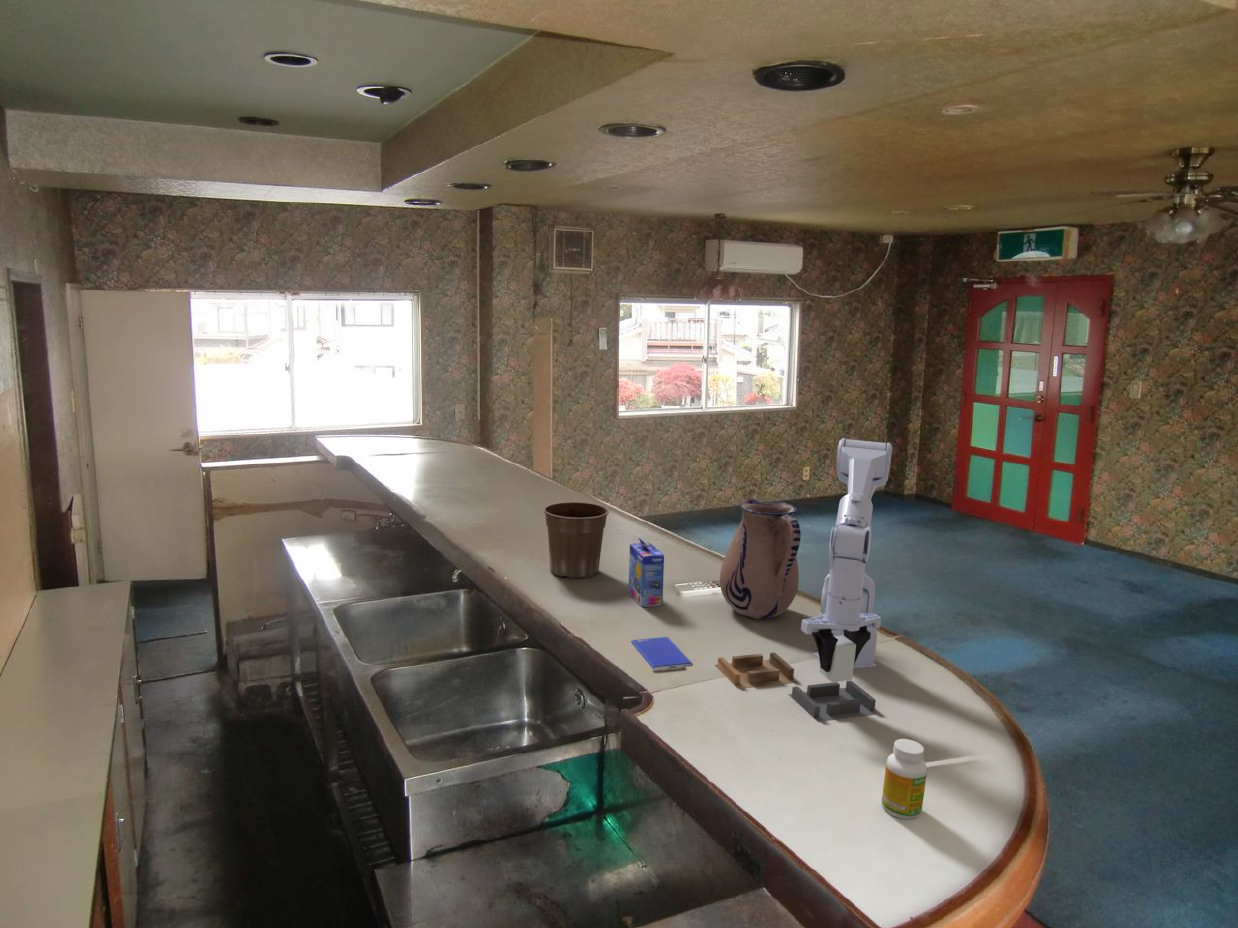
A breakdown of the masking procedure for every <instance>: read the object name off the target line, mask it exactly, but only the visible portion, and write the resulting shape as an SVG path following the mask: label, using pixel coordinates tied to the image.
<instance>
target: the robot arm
mask: <svg viewBox="0 0 1238 928" xmlns="http://www.w3.org/2000/svg"><path fill="white" fill-rule="evenodd" d="M892 452H893V445H892V443H891V442H878V441H868V440H867V441H866V440H857V439H851V438H850V439H848V438H844V437H842V438H841V439H840V440H839V442H838V445H837V455H836V475H837V477H838V480H839V482H842V483H844V484H845V485H846V486H847V494H846V495H844V496H842V497H841V498H840V500H839V504H838V510H837V516H836V522H835V527H834V526H832V527H831V529H830V530H831V532H830V537H829V545H828V552H829V563H828V568H829V573H828V574H827V575H826V577H824V584H823V586H822V587H823V588H822V592H821V601H820V612H821V613H822V614H820V615H817V616H813V617H810V618H804V619H802V620H801V624H800V626H801V627H800V631H802V632H803V633H804V634H805V635H812V638H813V639H814V643H815V646H816V648H817V651H816V652H813V654H814V655H815V656H816V657H818V659H819V669H820V668H822V669H823V670H824V671H825V672H830V669H831V665H832V657H833V652H834V649H835V646H836V644H837V642H838V639H837V638H835V637H834V636H845V637H846V638H847V639H849V640H850V641H852V642H853V643H854V644H856V651H855V659H854V668H853V669H860V668H861V669H862V668H869V667H870V668H871V667H877V664H876V663H875V656H876V649H877V641H878V640H877V639H878V632H877V629H879V628H881V623H882V617H881V616H879V615H878V614H877V613H874V609H875V608H874V607H875V605H874V604H875V597H876V591H875V590H876V584H875V581H874V580H873V579H872V577H870V575H868V574H867V573H866V564H867V563H868V561H869V557H870V552H871V546H872V545H871V544H872V534H873V533H872V517H873V511H874V510H873V509H874V505H873V503H872V497H873V495H874V493H875V491H876V489H877V488H881V487H884V486H886V484H887V482H888V480H889V475H890V469H891V461H892ZM865 554H866V559H865Z"/></svg>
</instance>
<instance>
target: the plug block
mask: <svg viewBox="0 0 1238 928" xmlns="http://www.w3.org/2000/svg"><path fill="white" fill-rule="evenodd" d="M834 637H835V638H837V639H838V642H837V644H836V646H835V649H834V652H833V657H832V665H831V669H830V672H825V671H824V670H823V669H822V668H820V667H819V673H820V674H821V675H823V676H824V677H825V678H826V679H828V680H829V681H830V683H833V682H837V683H839V682H844V681H845V682H846V681H853V675H854V669H855V668H854V659H855V651H856V644H854V643H853V642H852V641H850V640H849V639H847V638H846V637H845V636H834Z"/></svg>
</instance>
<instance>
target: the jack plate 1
mask: <svg viewBox="0 0 1238 928" xmlns="http://www.w3.org/2000/svg"><path fill="white" fill-rule="evenodd" d="M731 658H732V660H731V663H729V662H728V660H726V658H724V657H718V658H717V664H714V666H715V667H716V668H717V670H718V671H720V673H722V675H724V676H725V677H726V678H727V679H728V680H729V681H730V683H731V684H732V685H733V686H734V687H735V688H736V689H738V690H740V689H745V688H746V689H748V688H759V687H767V686H775V685H787V684H794V683H797V681H796V680H795V678H794V673H795V668H793V667H792V666H791V665H790V664H789V663H788V662H787V661H785V660H784V659H783V658H782V657H781V656H779V655H778V654H777V653H776V652H770V653H769V658H768V659H764V655H763V654H762V653H755V654H746V655H744V654H742V655H736V656H735V655H734V656H732V657H731Z"/></svg>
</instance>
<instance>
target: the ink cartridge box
mask: <svg viewBox="0 0 1238 928" xmlns="http://www.w3.org/2000/svg"><path fill="white" fill-rule="evenodd" d="M638 540H639V542H640V543H638V542H637V543H636V542H635V543H630V544H629V566H628V587H627V588H628V592H627V593H628V594H629V595H630V596H631V597H632V598H633V600H634V601H635V602H636V603H637V604H638V605H639V606H640V607H641V608H645V607H646V608H647V607H661V606H663V603H664V601H663V600H664V576H665V575H664V573H665V554H663V553H662V551H660V550H658V549H657V548H656V546H654V545H653V544H652V543H651V542H645V541H644V540H642V539H641V537H638Z"/></svg>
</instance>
